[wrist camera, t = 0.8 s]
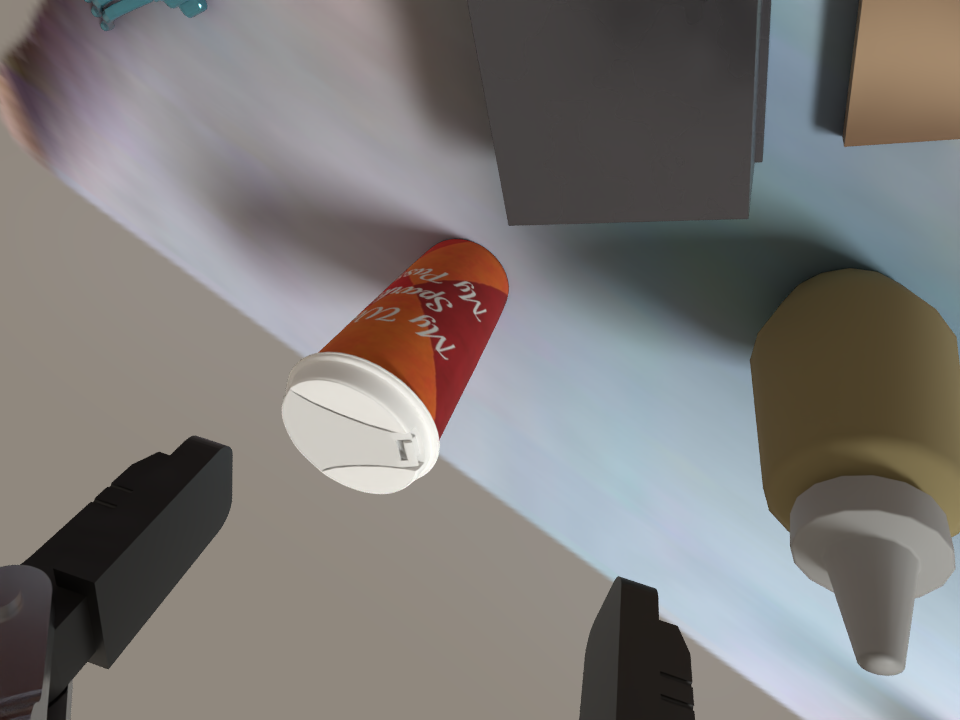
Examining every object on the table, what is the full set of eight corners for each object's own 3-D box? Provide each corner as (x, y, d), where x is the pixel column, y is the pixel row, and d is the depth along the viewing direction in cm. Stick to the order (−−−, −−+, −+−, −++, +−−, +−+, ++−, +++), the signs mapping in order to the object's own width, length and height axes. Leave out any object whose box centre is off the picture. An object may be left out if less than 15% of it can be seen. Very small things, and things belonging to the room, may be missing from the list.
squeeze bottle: (727, 352, 35) (688, 662, 22) (799, 221, 29) (806, 529, 16) (881, 405, 33) (939, 771, 20) (986, 278, 28) (1158, 665, 15)
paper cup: (521, 224, 34) (408, 385, 24) (531, 340, 39) (440, 516, 29) (393, 217, 37) (244, 359, 27) (416, 327, 42) (296, 483, 32)
